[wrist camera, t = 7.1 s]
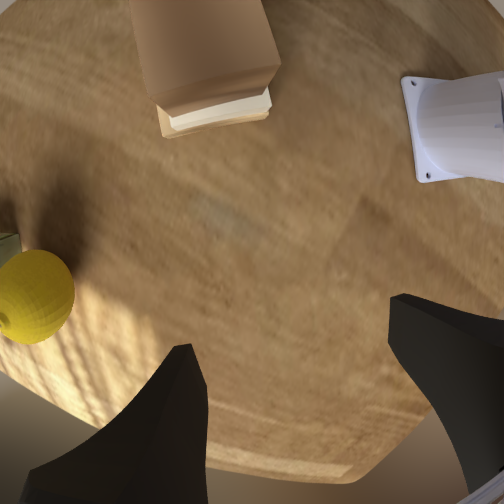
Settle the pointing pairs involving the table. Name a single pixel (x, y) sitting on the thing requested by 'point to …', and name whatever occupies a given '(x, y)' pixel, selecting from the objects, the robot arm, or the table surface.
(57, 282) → the lemon
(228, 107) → the cream block
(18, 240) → the medication box
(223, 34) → the walnut block
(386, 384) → the table surface
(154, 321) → the table surface
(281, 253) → the table surface
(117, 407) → the table surface
